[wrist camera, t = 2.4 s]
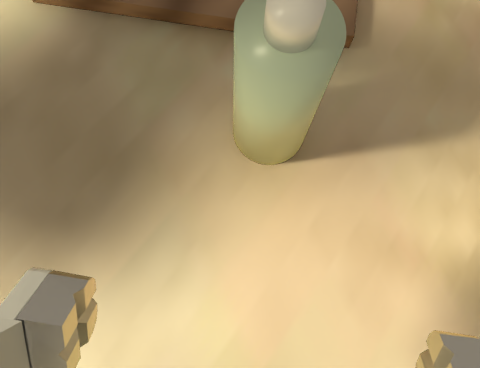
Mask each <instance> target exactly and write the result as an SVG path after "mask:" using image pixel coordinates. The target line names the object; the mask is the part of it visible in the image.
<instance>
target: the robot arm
mask: <svg viewBox="0 0 480 368" xmlns="http://www.w3.org/2000/svg"><path fill="white" fill-rule="evenodd" d="M95 291H96V282H95V279H94V278H92V277H87V276H82V275H76V274H71V273H65V272H60V271H54V270H53V271H52V270H46V269H41V268H35V267H32V268H30V269H29V270H27V271H26V272H25V274H24V275H23V276H22V277H21V279H20V280H19V281H18V283H17V284H16V285H15V286H14V288H13V289H12V290H11V292H10V293H9V294H8V295H7V297H6V298H5V299H4V301H3V302H2V303H1V304H0V368H76V366H77V364H78V362H79V360H80V358H81V355H80V347H81V346H83V345H84V344H86V343H88V342H89V339H90V337H91V335H92V333H93V330H94V327H95V323H96V319H97V303H96V301H95V300H94V299H93V298H92V297H93V295H94V293H95ZM426 342H427V346H428V350H426V351H424V352H422V353H421V354H420V355H419V358H418V360H417V362H416V368H480V337H478V336H477V337H475V336H470V335H463V334H456V333H450V332H443V331H436V330H434V331H432V332H431V333H430V334H429V336H428V338H427V340H426Z"/></svg>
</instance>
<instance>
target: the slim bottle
mask: <svg viewBox="0 0 480 368" xmlns="http://www.w3.org/2000/svg"><path fill="white" fill-rule="evenodd" d="M345 41H346V24H345V21H344V18H343V15H342V13H341V11H340V9H339V8H338V6H337V5H336V4H335V2H334V1H333V0H245V1H244V2H243V3H242V5H241V6H240V8H239V10H238V12H237V15H236V18H235V22H234V85H233V135H234V140H235V143H236V145H237V147H238V148H239V150H240V151H241V152H242V153H243V154H244V155H245V156H246V157H247V158H249V159H250V160H252V161H254V162H257V163H260V164H265V165H274V164H279V163H283V162H285V161H287V160H289V159H290V158H291V157H293V156H294V155H295V154H296V153H297V152H298V150H299V149H300V147H301V145H302V143H303V140H304V138H305V136H306V134H307V131H308V129H309V127H310V124H311V122H312V120H313V118H314V115H315V113H316V111H317V108H318V106H319V104H320V101H321V99H322V97H323V95H324V92H325V90H326V88H327V85H328V83H329V81H330V79H331V76H332V74H333V72H334V69H335V67H336V65H337V63H338V60H339V58H340V56H341V53H342V51H343V48H344V45H345Z"/></svg>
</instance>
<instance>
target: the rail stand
mask: <svg viewBox="0 0 480 368" xmlns="http://www.w3.org/2000/svg"><path fill="white" fill-rule="evenodd" d="M32 1H33V2H37V3H44V4H50V5H57V6H64V7H71V8H78V9H85V10H92V11H99V12H106V13H113V14H119V15H126V16H133V17H140V18H147V19H154V20H161V21H168V22H175V23H182V24H188V25H195V26H202V27H209V28H216V29H223V30H230V31H234V22H235V18H236V15H237V12H238V10H239V8H240V6H241V5H242V3H243V2H244V1H245V0H32ZM333 1H334V2H335V4H336V5H337V6H338V8H339V9H340V11H341V13H342V15H343V18H344V21H345V24H346V41H345V45H344V47H347V48H349V46H350V44H351V42H352V40H353V38H354V33H355V23H356V13H357V2H358V0H333Z"/></svg>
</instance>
